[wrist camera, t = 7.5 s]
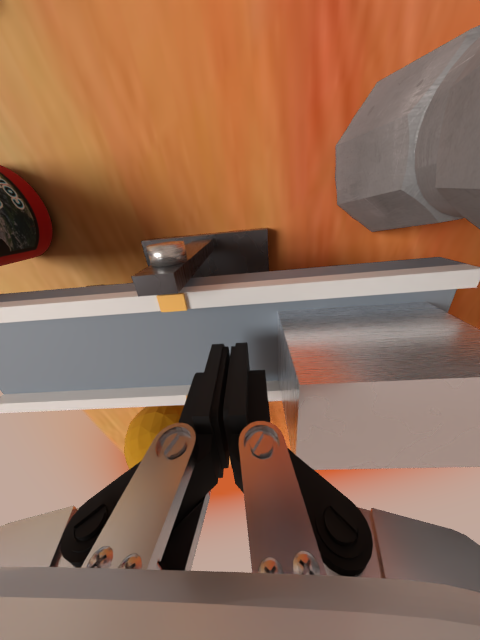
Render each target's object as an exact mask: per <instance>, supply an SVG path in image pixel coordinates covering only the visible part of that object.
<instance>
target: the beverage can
mask: <svg viewBox="0 0 480 640" xmlns="http://www.w3.org/2000/svg"><path fill="white" fill-rule="evenodd" d="M51 240H52V223H51V219H50V216H49V213H48V211H47V209H46V207H45V205H44V203H43V201H42V200H41V198H40V197H39V195H38V194H37V193H36V192H35V190H34V189H33V188H32V187H31V186H30V185H29V184H28V183H27V182H26V181H25V180H24V179H23V178H21V177H20V176H19V175H17V174H16V173H14V172H13V171H11V170H9V169H7V168H5V167H3V166H1V165H0V266H2V265H6V264H10V263H14V262H18V261H22V260H26V259H30V258H34V257H37V256H40V255H41V254H43V253H44V252H45V251H46V250H47V249H48V247H49V246H50V243H51Z"/></svg>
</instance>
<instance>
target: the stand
mask: <svg viewBox="0 0 480 640" xmlns="http://www.w3.org/2000/svg"><path fill="white" fill-rule="evenodd" d="M141 243H142V247H143V250H144V254H145V257H146V260H147V264H148V267H147V268H145V269H143V270H142V271H140V272H138V273H137V274H135V275H133V276H131V277H132V280H133V283H134V286H135V289H136V292H137V295H138V297H140V296H152V295H165V294H178V293H179V292H180V291H181V289H182V288H183V287H184V286H185V285H186V283H187V282H188V281H189V280H190V279H191V278H197V277H209V276H221V275H233V274H244V273H256V272H268V271H269V263H268V231H267V228H260V229H250V230H240V231H229V232H219V233H209V234H199V235H189V236H179V237H168V238H158V239H148V240H144V241H141ZM336 266H338V265H336ZM94 286H103V285H94ZM86 287H91V286H86Z"/></svg>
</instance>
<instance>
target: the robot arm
mask: <svg viewBox="0 0 480 640" xmlns="http://www.w3.org/2000/svg"><path fill="white" fill-rule="evenodd" d="M229 456H230V460H231V465H232V468H233V473H234V479H235V483H236V485H237V486H238V487H239V488H240V489H241V491H242V492H243V493H244V500H245V509H246V519H247V528H248V537H249V547H250V556H251V564H252V565H251V566H252V573H241V572H210V571H209V572H208V571H191V567H192V563H193V559H194V556H195V552H196V548H197V544H198V541H199V537H200V533H201V529H202V525H203V522H204V517H205V514H206V510H207V506H208V503H209V499H210V492H211V489H212V488H213V487H214V486H215V485H216V484H217V483H218V478H222V477H223V470H224V468H228V466H229ZM0 640H480V545H478V544H477V543H475V542H474V541H473V540H471V539H470V538H469V537H467V536H466V535H464V534H461V533H459V532H457V531H454V530H452V529H448V528H445V527H441V526H437V525H434V524H430V523H426V522H422V521H419V520H415V519H411V518H407V517H404V516H400V515H396V514H392V513H389V512H385V511H382V510H377V509H374V508H371V511H369V510H366V509H362V508H358V507H356V506H355V505H354V504H353V502H352V501H350V500H349V499H348V498H347V497H346V496H344V495H343V494H342V493H341V492H340V491H338V490H337V489H336V488H335V487H334V486H332V485H331V484H330V483H329V482H328V481H326V480H325V479H324V478H323V477H322V476H320V475H319V474H318V473H317V472H315V471H314V470H313V469H312V468H311V467H310V466H308V465H307V464H306V463H305V462H304V461H302V460H301V459H300V458H299V457H298V456H296V455H295V454H294V453H293V452H292V451H290V450H289V449H288V448H287V446H286V443H285V439H284V437H283V435H282V432H281V431H280V430H279V429H278V428H277V426H275V425H273V424H272V423H270V415H269V404H268V394H267V384H266V373H265V370H250V366H249V354H248V344H247V342H245V343H236V345H235V346H231V353H229V347H228V346H227V347H225V346H224V344H212V346H211V349H210V353H209V356H208V360H207V364H206V367H205V371H204V372H199V373H195V375H194V377H193V380H192V383H191V386H190V389H189V392H188V395H187V398H186V401H185V404H184V407H183V410H182V413H181V416H180V419H179V422H178V423H175V424H172V425H169V426H167V427H166V428H164V429H163V430H161V431H160V432H159V433H158V434H157V436H156V437H155V438H154V440H153V442H152V443H151V445H150V447H149V449H148V450H147V452H146V454H145V456H144V457H143V459H142V461H140V462H139V463H138V464H136V465H135V466H134V467H132V468H131V469H129V470H128V471H127V472H125V473H124V474H123V475H121V476H120V477H119V478H118V479H116V480H115V481H113V482H112V483H111V484H109V485H108V486H107V487H105V488H104V489H103V490H101V491H100V492H99V493H97V494H96V495H95V496H93V497H92V498H91V499H89V500H88V501H87V502H86V503H85V504H84V505H82V506H81V507H80V508H75V507H74V506H71V507H67V508H64V509H60V510H56V511H52V512H49V513H45V514H41V515H38V516H34V517H30V518H26V519H23V520H19V521H15V522H11V523H8V524H5V525H3V526H1V527H0Z"/></svg>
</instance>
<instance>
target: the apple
mask: <svg viewBox="0 0 480 640" xmlns="http://www.w3.org/2000/svg"><path fill="white" fill-rule="evenodd" d="M183 407H184V405H172V406H149V407H145V408H144V409H143V410H142V411H140V412H139V413H138V414H137V415H136V416H135V418H134V419H133V420H132V421H131V423H130V425H129V428H128V431H127V434H126V438H125V447H124V454H125V458H126V462H127V464H128V467H129V469H131V468H132V467H134V466H135V465H136V464H138V463H139V462H140V461H142V459H143V457H144V456H145V454H146V452H147V450H148V449H149V447H150V445H151V443H152V442H153V440H154V438H155V437H156V436H157V434H158V433H159V432H160V431H161V430H163V429H164V428H166V427H167V426H169V425H172V424H175V423H178V422H179V419H180V416H181V413H182V410H183Z"/></svg>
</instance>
